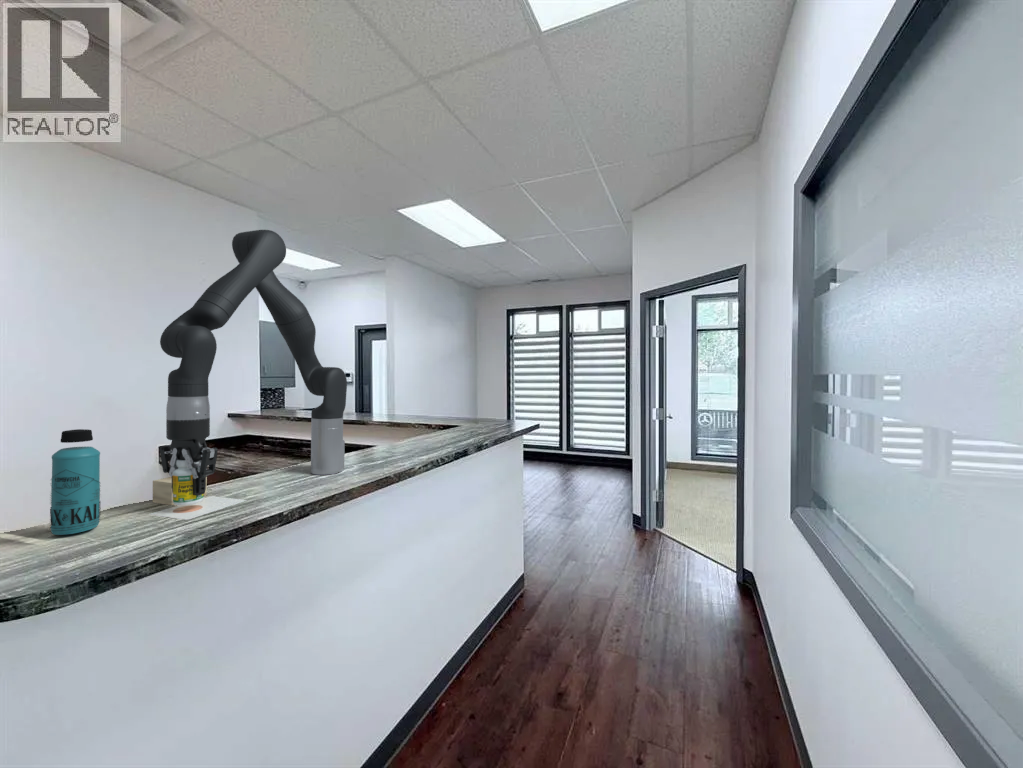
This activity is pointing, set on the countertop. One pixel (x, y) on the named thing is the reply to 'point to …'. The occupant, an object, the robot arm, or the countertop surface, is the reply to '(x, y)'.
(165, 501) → the block
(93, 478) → the beverage bottle
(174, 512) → the board
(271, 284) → the robot arm
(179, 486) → the supplement bottle
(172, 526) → the countertop surface
